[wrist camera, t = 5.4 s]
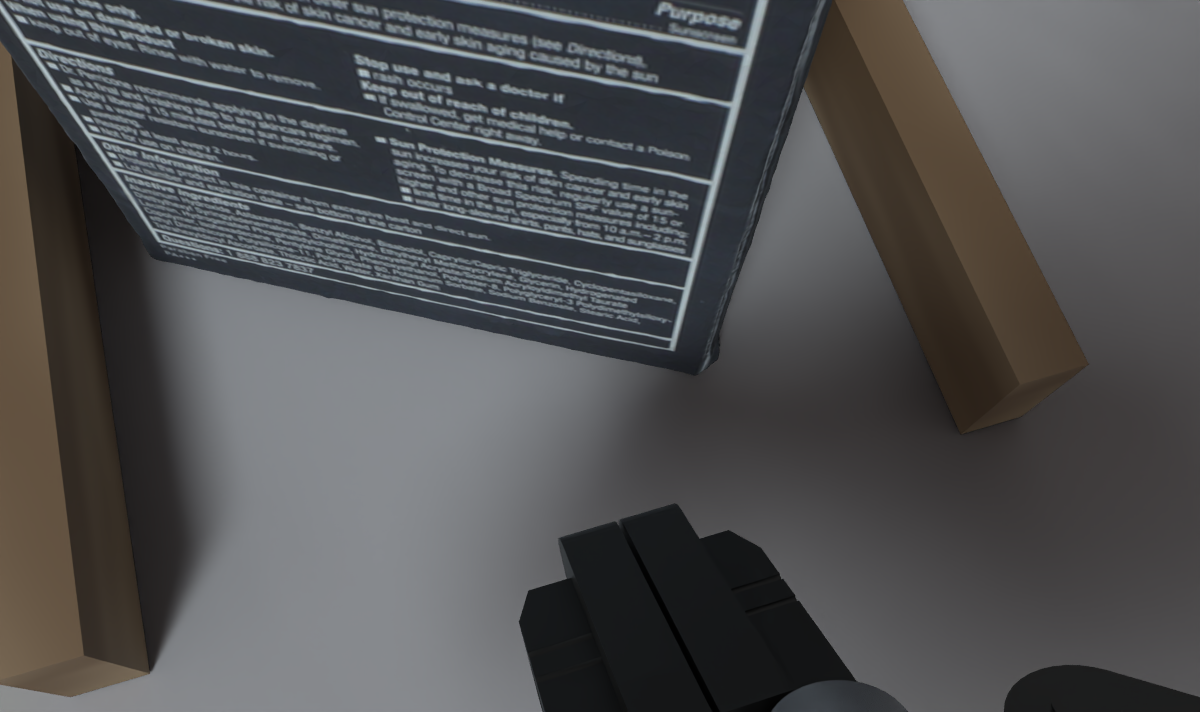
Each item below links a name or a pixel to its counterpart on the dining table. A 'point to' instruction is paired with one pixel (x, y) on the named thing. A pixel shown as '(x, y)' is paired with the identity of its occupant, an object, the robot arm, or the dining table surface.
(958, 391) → the walnut tunnel
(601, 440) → the dining table surface
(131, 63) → the small box
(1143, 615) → the dining table surface
